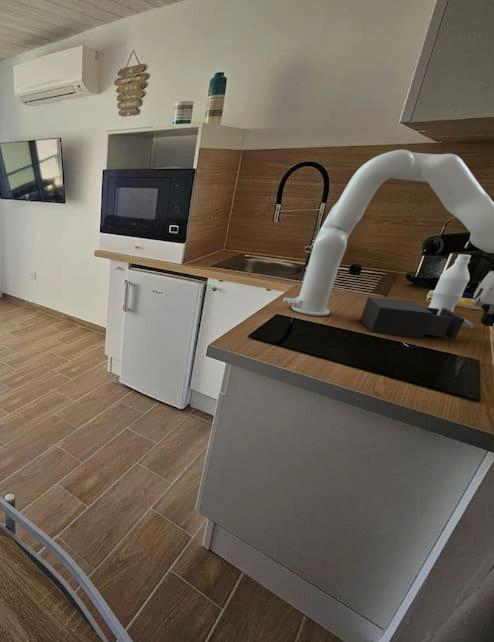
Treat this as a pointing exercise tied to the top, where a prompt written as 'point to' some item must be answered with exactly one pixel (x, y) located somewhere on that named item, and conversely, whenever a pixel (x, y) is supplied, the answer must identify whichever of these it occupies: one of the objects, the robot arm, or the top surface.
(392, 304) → the dark grey rectangular box
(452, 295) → the water bottle
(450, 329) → the drawer
